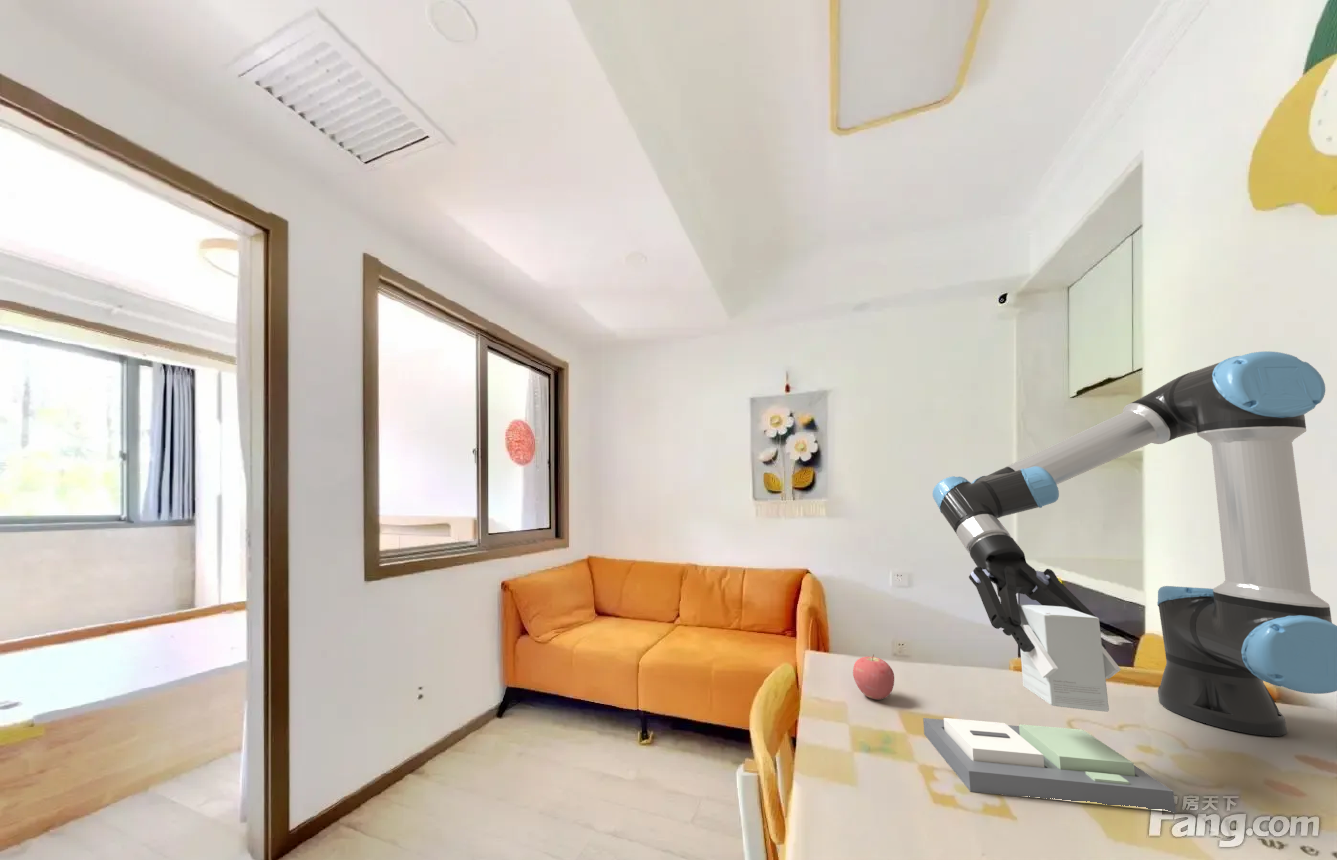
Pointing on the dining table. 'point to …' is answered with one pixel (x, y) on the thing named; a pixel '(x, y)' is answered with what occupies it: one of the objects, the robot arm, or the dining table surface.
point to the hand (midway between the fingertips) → (1081, 673)
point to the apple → (873, 677)
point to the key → (1076, 750)
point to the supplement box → (1066, 657)
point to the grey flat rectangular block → (1032, 768)
